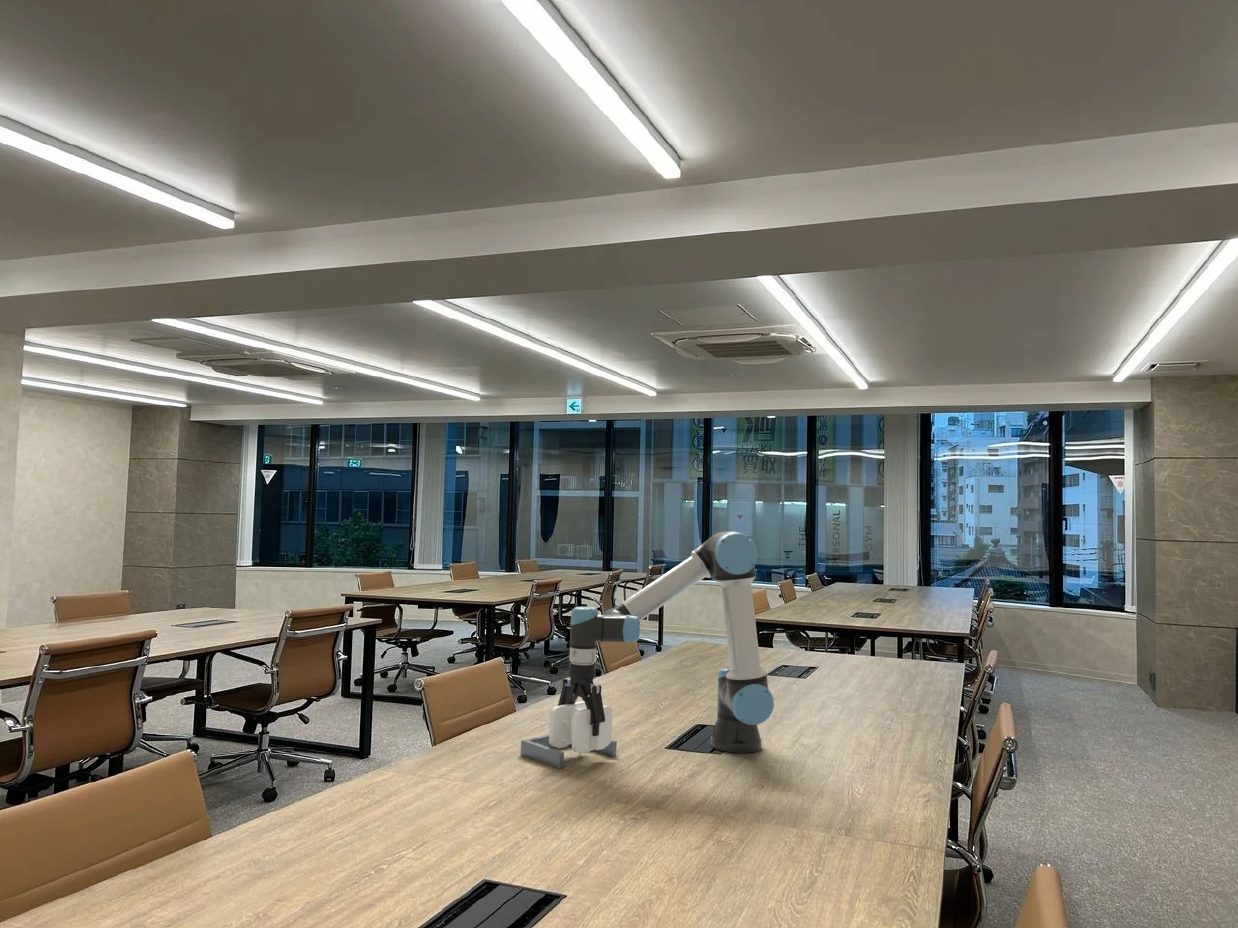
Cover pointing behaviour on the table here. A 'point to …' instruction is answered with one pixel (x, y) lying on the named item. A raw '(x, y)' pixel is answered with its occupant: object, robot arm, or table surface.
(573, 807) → the table surface
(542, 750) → the bracket
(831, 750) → the table surface
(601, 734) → the cable organizer
